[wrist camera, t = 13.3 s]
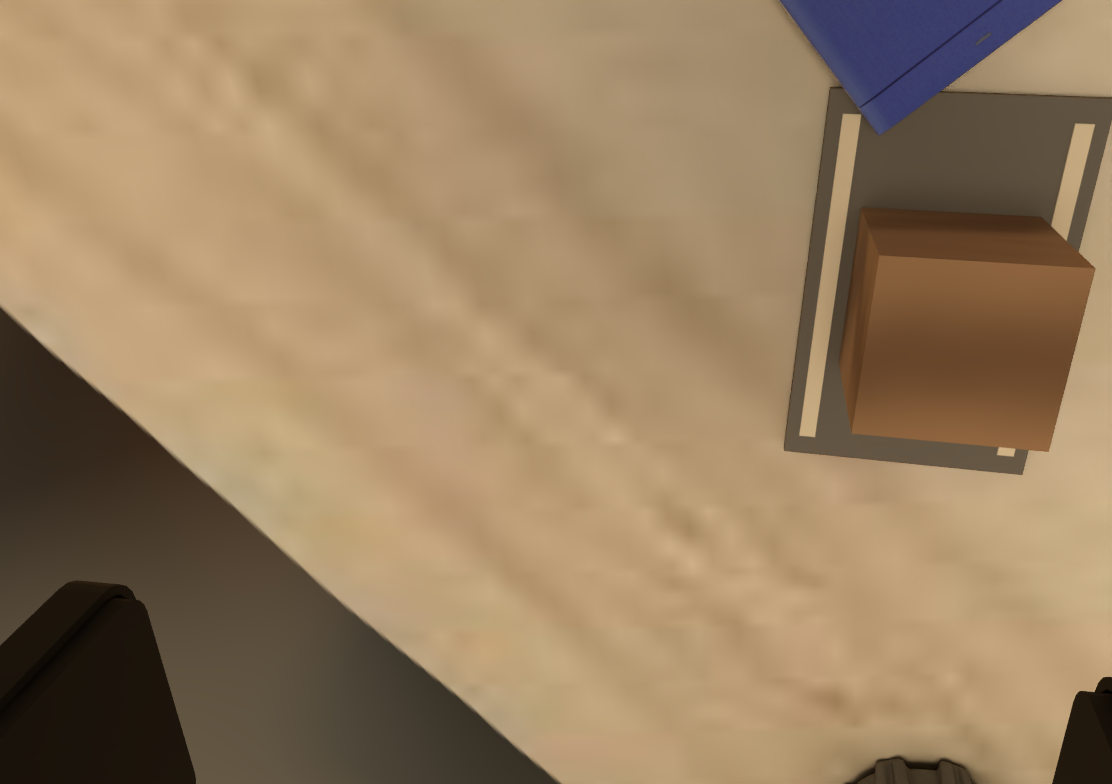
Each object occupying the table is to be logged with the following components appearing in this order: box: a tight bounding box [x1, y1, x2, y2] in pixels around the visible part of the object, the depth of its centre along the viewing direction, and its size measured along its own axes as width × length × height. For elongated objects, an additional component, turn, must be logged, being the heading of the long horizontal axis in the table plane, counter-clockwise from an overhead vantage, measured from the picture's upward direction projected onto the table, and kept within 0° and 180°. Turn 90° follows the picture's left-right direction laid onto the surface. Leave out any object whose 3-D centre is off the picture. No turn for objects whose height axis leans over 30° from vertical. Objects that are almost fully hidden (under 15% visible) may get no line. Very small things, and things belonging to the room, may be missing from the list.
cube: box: [839, 207, 1095, 452], centre depth 32 cm, size 6×6×6 cm
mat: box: [784, 87, 1112, 475], centre depth 35 cm, size 14×9×1 cm, turn 179°
